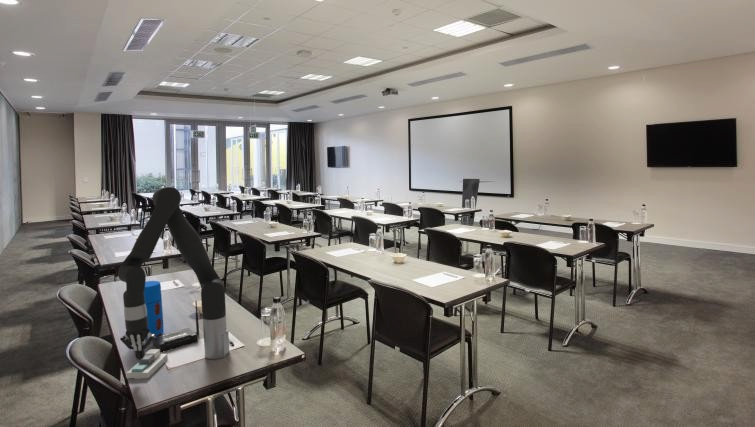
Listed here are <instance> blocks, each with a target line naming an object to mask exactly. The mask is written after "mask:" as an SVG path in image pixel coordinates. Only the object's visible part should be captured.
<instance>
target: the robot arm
mask: <svg viewBox="0 0 755 427" xmlns="http://www.w3.org/2000/svg"><path fill="white" fill-rule="evenodd" d="M181 202H182V195H181V192H180V191H179V190H178V189H177V188H175V187H173V186H163V187H161V188H158V189H156V190H155V192H154V193H153V194H152V203H153V206H154V207H153V208H154V209H153V211H152V213H151V215H150V217H149V220H148V221H147V222H146V224H145V225H144V226H143V228H142V230H141V231H140V233H139V235H138V236H137V237H136V240H135V243H134V244H133V247H132V248H131V251H130V253H128V255H127V256H126V258H125V259H124V260H123V262H122V263H121V265H120V267H119V269H118V272H117V276H118V278H119V280H120V281H121V282H123V283H125V285H126V286H125V287H126V289H125V291H124V292H123V295H122V297H123V298H122V300H123V318H124V325H125V330H126V331H125V334H124V335H123V336H121V337H120V339H119V340H120V341H121V342H122V344H124V345H125V346H126V347H127V349H129V350H130V351H131V350H134V356H135V359H136V360H137V361H139V360H142V359H143V357H144V356H145V353H146V351H145V350H146V349H147V348H148V347H149V346H150V345H151V343H153V342H152V341H153V339H154V338H155V336H156V334H151V333H150V331H149V329H148V319H147V309H146V305H145V296H144V289H145V282H147V280H146V277H147V276H146V272H145V270H144V268H143V267H142V266H143V264H144V262H147V261H149V260H150V259H151V258H152V256H153V253H154V251H155V248H156V246H157V244H158V241H159V239H160V238H161V235H162V234H163V231H164V229H165V227H166V226H167V228H168V230H169V233H170V234H171V237H172V239H173V240H174V244H175V245H176V247H177V249H178V251H179V253H180V255H181V256H182V258H183V260H184V261H185V262H186V264H187V265H188V266H189V267H190V269H191V270H192V271H193V272H194V274H195V276H196V278H197V280H198V283H199V285H200V290H201V291H200V297H201V298H200V300H201V313H202V328H203V329H202V330H203V331H202V332H203V343H204V344H203V345H204V358H206V359H207V360H217V359H222V358H226V357H227V355H228V354H229V352H230V337H229V330H227V315H226V314H227V313H226V312H227V310H226V309H227V308H226V289H225V284H224V282H223V280H222V279H221V278H220V276H219V275H218V273H217V271H216V270H215V268H214V267H213V265H212V263H211V260H210V257H209V255H208V252H207V250H206V248H205V245H204V243H203V241H202V239H201V237H200V236H199V234H198V232H197V230H196V229H195V228H194V227H193V226H192V224H191V223H190V222H189V221H188V220H187V218H186V217H185V215H184V214H183V212H182V210H181V207H180V203H181ZM147 336H148V339H146V337H147Z"/></svg>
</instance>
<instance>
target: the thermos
mask: <svg viewBox="0 0 755 427" xmlns="http://www.w3.org/2000/svg"><path fill="white" fill-rule="evenodd" d="M144 296H145V305H146V309H147V319H148V329H149V331H150V333H151V334H156V336H155V337H157V336H161V335H164V312H163V300H162V286H161V282H160V281H158V280H148V281H147V280H146V282H145V289H144ZM145 340H148V336H147V337H146V339H145Z"/></svg>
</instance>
